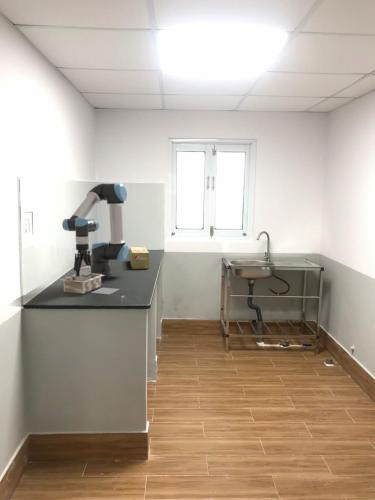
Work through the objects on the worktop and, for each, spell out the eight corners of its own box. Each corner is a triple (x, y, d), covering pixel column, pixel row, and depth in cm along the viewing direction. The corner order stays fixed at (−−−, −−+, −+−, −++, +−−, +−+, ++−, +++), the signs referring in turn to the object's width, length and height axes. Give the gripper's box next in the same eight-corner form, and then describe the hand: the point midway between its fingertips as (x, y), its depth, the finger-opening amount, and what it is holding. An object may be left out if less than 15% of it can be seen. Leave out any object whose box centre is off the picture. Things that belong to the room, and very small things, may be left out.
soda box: (149, 269, 328) (149, 252, 326) (131, 269, 326) (131, 252, 324) (145, 260, 367) (145, 246, 366) (129, 261, 365) (129, 246, 363)
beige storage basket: (80, 283, 271) (80, 272, 270) (106, 285, 266) (106, 274, 265) (58, 292, 247) (57, 280, 247) (85, 294, 242) (85, 282, 241)
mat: (102, 288, 259) (102, 287, 259) (119, 289, 256) (119, 289, 256) (90, 293, 246) (90, 292, 246) (109, 294, 243) (109, 294, 243)
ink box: (80, 287, 252) (79, 263, 250) (75, 286, 255) (74, 262, 253) (91, 284, 259) (91, 261, 257) (86, 283, 262) (85, 260, 260)
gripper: (86, 240, 265) (87, 275, 268) (66, 245, 244) (67, 283, 247) (96, 241, 263) (97, 276, 266) (78, 246, 242) (79, 284, 245)
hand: (83, 279), depth 257 cm, fingers closed on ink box, 9 cm apart
